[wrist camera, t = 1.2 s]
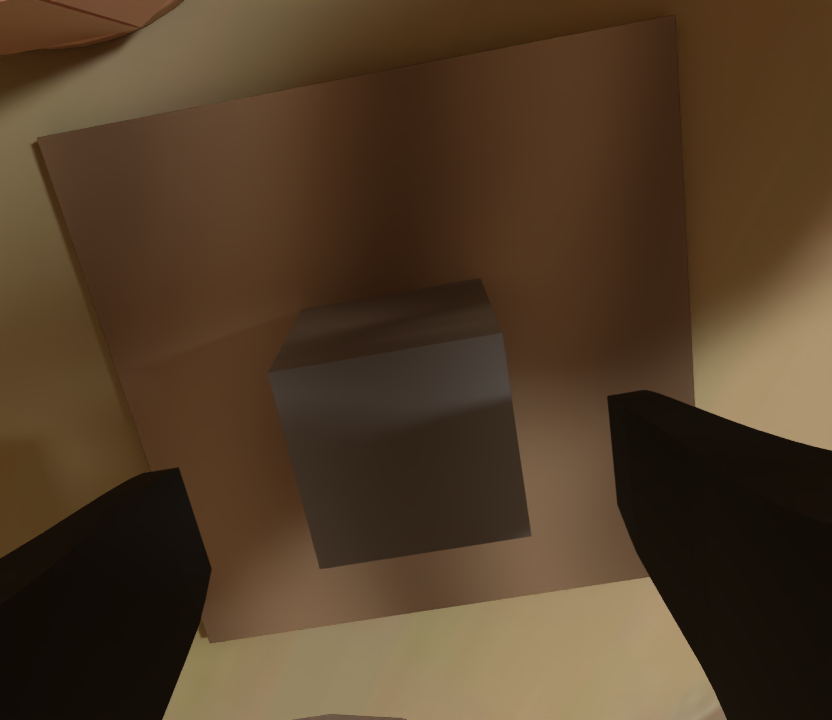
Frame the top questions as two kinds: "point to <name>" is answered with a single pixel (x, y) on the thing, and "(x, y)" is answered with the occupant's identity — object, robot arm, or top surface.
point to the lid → (396, 319)
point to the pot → (73, 22)
